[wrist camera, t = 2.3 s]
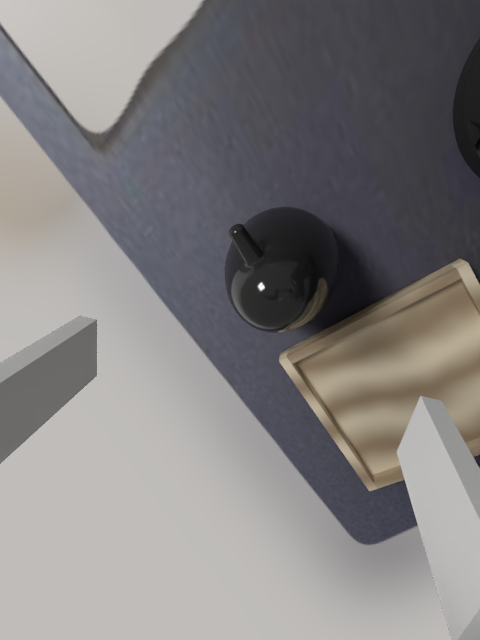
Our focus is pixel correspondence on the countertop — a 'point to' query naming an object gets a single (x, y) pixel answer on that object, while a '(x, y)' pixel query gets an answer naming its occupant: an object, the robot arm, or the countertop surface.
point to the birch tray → (395, 369)
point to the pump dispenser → (281, 269)
